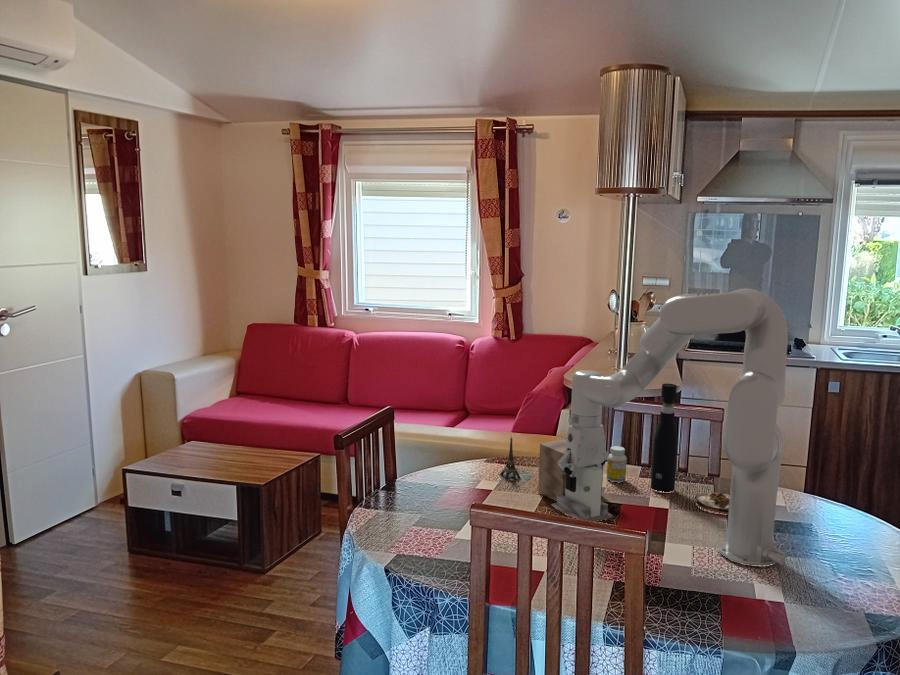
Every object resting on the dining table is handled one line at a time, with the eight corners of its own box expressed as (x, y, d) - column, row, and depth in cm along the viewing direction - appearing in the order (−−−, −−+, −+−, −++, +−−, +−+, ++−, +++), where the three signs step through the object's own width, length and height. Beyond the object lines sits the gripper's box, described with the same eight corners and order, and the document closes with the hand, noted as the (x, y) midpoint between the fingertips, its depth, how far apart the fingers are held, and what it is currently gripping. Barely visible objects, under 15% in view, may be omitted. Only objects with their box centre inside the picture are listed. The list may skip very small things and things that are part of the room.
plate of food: (762, 517, 185) (764, 501, 184) (711, 522, 181) (712, 506, 180) (726, 496, 199) (728, 481, 198) (678, 500, 195) (679, 485, 194)
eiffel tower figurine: (516, 490, 200) (517, 444, 198) (483, 483, 205) (484, 438, 203) (537, 475, 213) (539, 431, 211) (507, 468, 218) (508, 426, 216)
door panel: (599, 515, 180) (602, 469, 178) (587, 518, 178) (590, 472, 176) (573, 501, 189) (575, 457, 187) (561, 504, 187) (563, 460, 185)
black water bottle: (671, 486, 204) (678, 382, 199) (676, 494, 198) (683, 388, 193) (648, 485, 205) (655, 381, 200) (652, 493, 198) (659, 387, 194)
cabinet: (636, 512, 185) (640, 459, 183) (585, 525, 176) (587, 471, 174) (577, 484, 205) (579, 436, 202) (528, 495, 196) (529, 445, 193)
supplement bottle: (624, 484, 205) (626, 452, 203) (605, 482, 207) (606, 449, 205) (626, 478, 210) (628, 446, 208) (607, 476, 212) (609, 444, 210)
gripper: (568, 428, 173) (565, 498, 175) (622, 419, 181) (618, 486, 184) (549, 420, 179) (546, 489, 182) (601, 412, 188) (598, 477, 191)
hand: (582, 487), depth 183 cm, fingers open, 7 cm apart
